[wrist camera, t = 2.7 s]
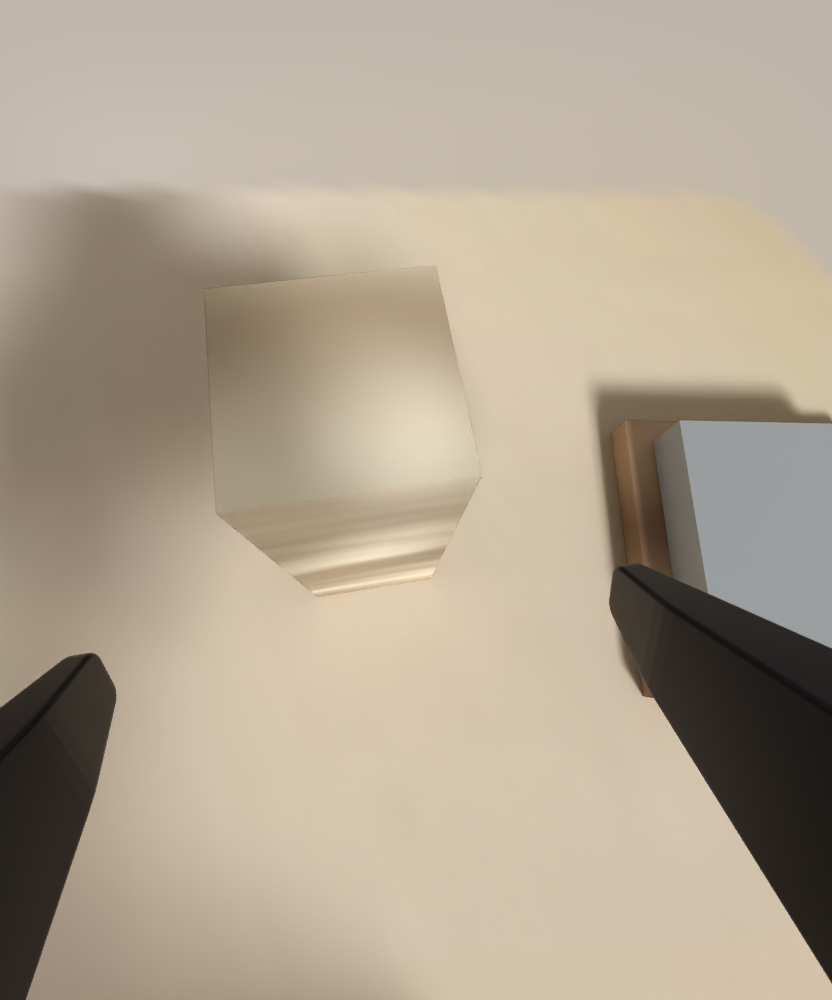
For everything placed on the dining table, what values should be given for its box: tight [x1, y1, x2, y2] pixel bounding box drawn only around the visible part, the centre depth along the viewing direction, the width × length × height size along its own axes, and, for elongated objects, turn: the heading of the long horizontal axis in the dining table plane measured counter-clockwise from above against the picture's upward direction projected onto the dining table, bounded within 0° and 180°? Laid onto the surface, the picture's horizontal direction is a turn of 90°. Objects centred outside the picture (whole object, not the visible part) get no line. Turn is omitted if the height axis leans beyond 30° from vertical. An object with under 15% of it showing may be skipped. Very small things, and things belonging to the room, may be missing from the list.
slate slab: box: [653, 420, 832, 648], centre depth 19 cm, size 9×9×2 cm
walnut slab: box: [611, 420, 677, 698], centre depth 21 cm, size 11×11×2 cm
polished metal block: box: [204, 265, 482, 597], centre depth 15 cm, size 4×4×12 cm
